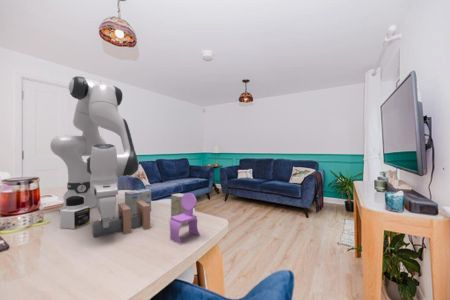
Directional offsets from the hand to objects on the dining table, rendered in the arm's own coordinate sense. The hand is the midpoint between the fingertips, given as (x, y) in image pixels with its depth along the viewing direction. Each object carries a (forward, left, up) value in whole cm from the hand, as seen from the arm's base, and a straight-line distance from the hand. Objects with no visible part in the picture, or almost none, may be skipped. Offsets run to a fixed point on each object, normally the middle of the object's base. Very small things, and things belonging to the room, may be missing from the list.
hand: (104, 224), depth 74 cm
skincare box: (+9, +26, -3) cm, 27 cm away
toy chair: (+22, +22, -3) cm, 31 cm away
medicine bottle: (-17, -8, -3) cm, 19 cm away
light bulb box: (-19, +17, -3) cm, 26 cm away
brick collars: (0, +10, -3) cm, 11 cm away
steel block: (0, +5, -3) cm, 6 cm away
